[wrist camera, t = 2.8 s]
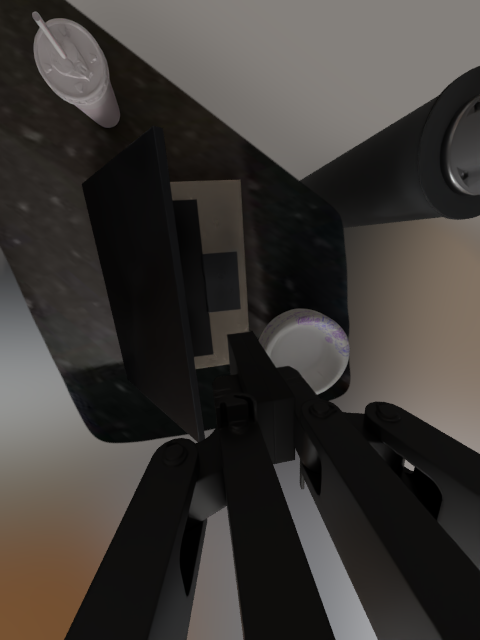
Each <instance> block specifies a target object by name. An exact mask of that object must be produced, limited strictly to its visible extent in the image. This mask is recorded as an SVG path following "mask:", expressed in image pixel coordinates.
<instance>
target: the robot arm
mask: <svg viewBox="0 0 480 640" xmlns="http://www.w3.org/2000/svg"><path fill="white" fill-rule="evenodd" d="M440 168H441V173H442V176H443V179H444V181H445V183H446V184H447V186H448V187H449V188H450V189H451V190H452V191H453V192H455V193H456V194H458V195H461V196H475V195H480V95H478V96H476V97H474V98H472V99H471V100H469V101H468V102H466V103H465V104H464V105H463V106H462V107H461V108H460V109H459V110H458V111H457V113H456V114H455V115H454V117H453V118H452V120H451V121H450V123H449V125H448V127H447V129H446V131H445V134H444V137H443V140H442V144H441V150H440ZM227 340H228V351H229V363H230V374H231V375H228V376H222V377H216V379H215V380H214V382H213V393H214V402H215V411H216V419H217V426H216V428H215V430H214V432H213V433H212V434H211V435H210V436H209V437H207V438H206V439H204V440H202V441H200V442H198V443H196V444H195V443H194V442H193V441H191V440H189V439H184V438H178V439H173V440H171V441H168V442H166V443H164V444H163V445H162V446H160V447H159V448H158V449H157V450H156V452H155V453H154V455H153V456H152V458H151V461H150V462H149V464H148V466H147V469H146V471H145V473H144V475H143V477H142V479H141V481H140V483H139V485H138V487H137V489H136V491H135V494H134V496H133V498H132V500H131V502H130V504H129V506H128V508H127V510H126V512H125V514H124V517H123V518H122V521H121V523H120V525H119V527H118V529H117V531H116V533H115V535H114V537H113V539H112V542H111V544H110V545H109V548H108V550H107V552H106V554H105V556H104V558H103V560H102V562H101V564H100V566H99V568H98V571H97V573H96V575H95V577H94V579H93V581H92V583H91V585H90V587H89V589H88V591H87V594H86V595H85V598H84V600H83V602H82V604H81V606H80V608H79V610H78V612H77V614H76V616H75V618H74V620H73V622H72V624H71V627H70V629H69V631H68V633H67V635H66V637H65V639H64V640H187V634H188V627H189V622H190V617H191V610H192V605H193V600H194V594H195V588H196V582H197V577H198V571H199V565H200V559H201V554H202V548H203V542H204V537H205V531H206V525H207V518H208V517H209V516H211V515H213V514H214V513H216V512H218V511H219V510H221V509H222V508H224V507H225V506H227V510H228V518H229V526H230V534H231V542H232V550H233V558H234V566H235V574H236V582H237V590H238V598H239V607H240V615H241V623H242V630H243V639H244V640H335V637H334V634H333V631H332V629H331V626H330V623H329V620H328V617H327V614H326V612H325V609H324V606H323V603H322V601H321V598H320V595H319V592H318V589H317V586H316V584H315V581H314V578H313V575H312V573H311V570H310V567H309V564H308V561H307V558H306V556H305V553H304V550H303V548H302V545H301V542H300V539H299V536H298V533H297V531H296V528H295V525H294V522H293V519H292V517H291V513H290V511H289V508H288V505H287V502H286V500H285V497H284V494H283V491H282V488H281V486H280V483H279V480H278V477H277V474H276V471H275V469H274V466H273V464H277V463H282V462H287V461H292V460H295V449H296V451H297V452H298V455H299V457H300V486H301V489H304V480H305V482H306V484H307V486H308V488H309V490H310V493H311V495H312V497H313V499H314V501H315V504H316V505H317V508H318V510H319V512H320V514H321V517H322V519H323V521H324V523H325V525H326V528H327V530H328V532H329V534H330V536H331V538H332V541H333V542H334V545H335V547H336V549H337V551H338V554H339V556H340V558H341V560H342V562H343V565H344V567H345V569H346V571H347V573H348V575H349V578H350V580H351V582H352V584H353V586H354V589H355V591H356V593H357V595H358V597H359V599H360V601H361V604H362V606H363V608H364V610H365V612H366V615H367V617H368V619H369V621H370V623H371V625H372V628H373V630H374V632H375V634H376V636H377V638H378V640H480V454H479V453H477V452H475V451H474V450H472V449H470V448H468V447H467V446H465V445H463V444H462V443H460V442H458V441H457V440H455V439H453V438H452V437H450V436H448V435H446V434H445V433H443V432H441V431H440V430H438V429H436V428H434V427H433V426H431V425H429V424H428V423H426V422H424V421H423V420H421V419H419V418H417V417H416V416H414V415H412V414H411V413H409V412H407V411H406V410H404V409H402V408H400V407H398V406H396V405H394V404H390V403H386V402H373V403H370V404H368V405H367V406H366V408H365V414H359V413H346V412H342V411H341V410H340V409H339V408H338V407H337V406H336V405H335V404H333V403H331V402H329V401H327V400H322V399H320V398H319V397H318V395H317V394H316V393H315V392H314V390H313V389H312V388H311V387H310V385H309V384H308V383H306V381H305V379H304V378H302V376H301V374H300V373H299V372H298V371H297V370H296V369H294V368H292V367H290V366H284V367H277V368H276V367H275V365H274V364H273V362H272V360H271V359H270V357H269V356H268V354H267V353H266V351H265V350H264V348H263V347H262V345H261V344H260V342H259V341H258V339H257V338H256V336H255V334H254V333H253V331H251V332H243V333H235V334H227ZM405 459H406V460H407V461H408V462H409V463H411V464H412V465H413V466H415V468H414V471H411V470H409V469H407V468H406V467H404V463H405Z"/></svg>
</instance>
